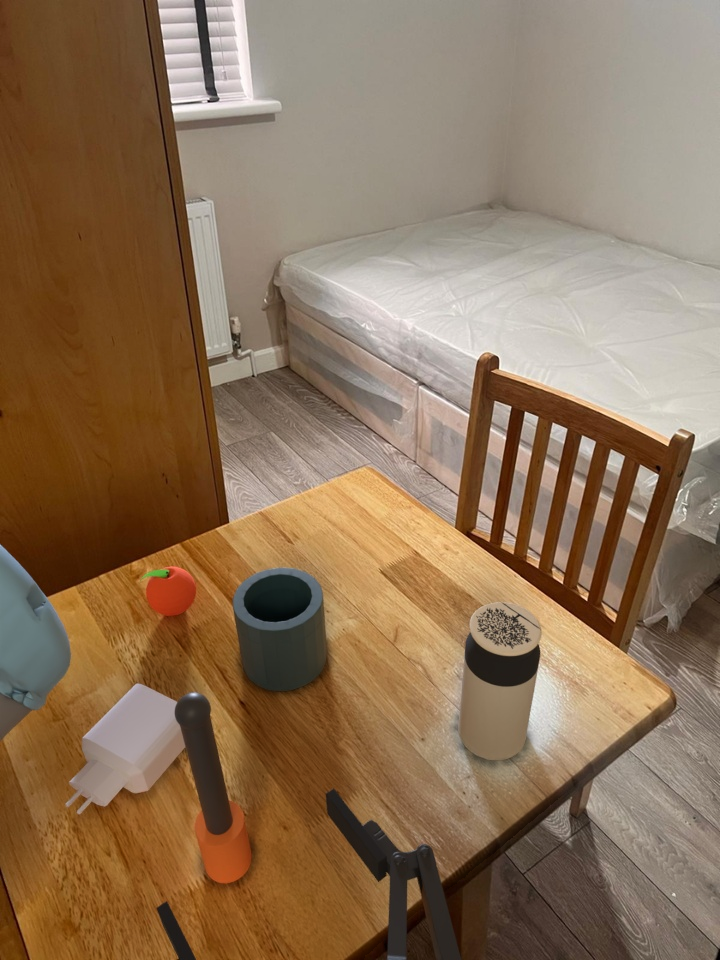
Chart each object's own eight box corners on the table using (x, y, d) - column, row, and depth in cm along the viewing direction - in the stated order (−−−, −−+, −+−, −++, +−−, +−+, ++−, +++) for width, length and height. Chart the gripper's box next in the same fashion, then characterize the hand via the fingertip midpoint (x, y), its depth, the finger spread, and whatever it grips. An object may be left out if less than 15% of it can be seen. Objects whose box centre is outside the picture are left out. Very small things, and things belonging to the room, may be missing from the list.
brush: (224, 893, 72) (182, 734, 58) (195, 860, 75) (149, 700, 61) (261, 858, 75) (230, 698, 61) (232, 828, 78) (196, 667, 63)
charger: (47, 803, 81) (142, 705, 91) (108, 842, 77) (200, 734, 88) (36, 778, 78) (134, 680, 89) (98, 817, 74) (193, 709, 85)
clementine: (136, 624, 103) (126, 586, 99) (153, 590, 109) (144, 553, 105) (191, 628, 102) (182, 590, 98) (205, 593, 108) (198, 556, 104)
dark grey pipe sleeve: (281, 706, 91) (273, 645, 85) (225, 659, 97) (214, 599, 91) (344, 655, 97) (341, 595, 91) (288, 614, 104) (281, 555, 98)
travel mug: (487, 774, 83) (501, 667, 72) (444, 724, 88) (452, 618, 78) (539, 741, 86) (560, 634, 76) (495, 695, 92) (508, 589, 81)
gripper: (253, 1405, 35) (95, 994, 49) (593, 1031, 47) (388, 788, 61) (235, 1389, 30) (68, 943, 45) (615, 981, 42) (388, 732, 56)
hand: (252, 853), depth 53 cm, fingers open, 13 cm apart
